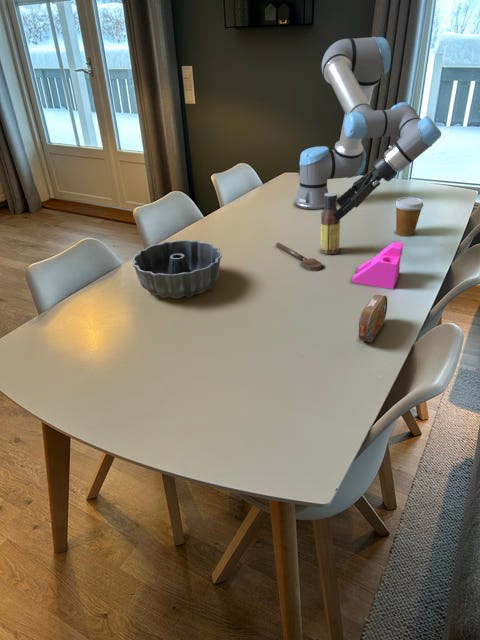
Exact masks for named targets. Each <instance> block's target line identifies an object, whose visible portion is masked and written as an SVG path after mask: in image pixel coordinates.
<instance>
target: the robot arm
mask: <svg viewBox="0 0 480 640" xmlns="http://www.w3.org/2000/svg"><path fill="white" fill-rule="evenodd" d="M391 55H392V54H391V47H390V44H389V41H388V40H387V39H386V38H385V37H379V36H378V37H377V36H376V37H375V36H370V37H357V38H355V37H354V38H342V39H339V40H337V41H335V42H334V43H332V44H331V45H330V46H329V47H328V48H327V49H326V51H325V53H324V55H323V57H322V61H321V73H322V76H323V78H324V80H325V82H327V83H328V84H330V86H331V87H332V90H333V91H334V94H335V95H336V98H337V99H338V101H339V105H340V106H341V108H342V110H343V112H344V114H343V115H344V116H343V121H342V125H341V130H340V137H339V140H337V141H336V143H335V144H334V148H333V149H329V146H324V145H322V146H313V147H309V148H306V149H304V150H303V151H302V152H301V153H300V155H299V156H300V157H299V167H298V168H297V170H296V171H297V173H298V174H299V187H298V190H297V193H296V196H295V199H294V206H295V207H297V208H299V209H303V210H324V208H325V207H324V206H325V199H324V194H326V193H329V190H328V180H334V179H346V178H347V179H351V178H356V177H359V176H361V174H362V173H363V172H364V170H365V167H366V163H367V161H366V159H367V153H366V150H365V149H364V146H363V144H362V141H363V140H364V139H372V138H385V137H398V138H399V139H398V140H397V141H395V142H394V144H393V145H388V147H387V148H388V149H387V150H386V151H384V152H383V154H382V155H380V156H379V157H378V158H376V160H374V161H373V162H372V165H373V168H371V170H369V171H368V172H367V173H365V174H364V175H362V176H361V177H360V178H358V179H357V180H356V181H354V182H353V183H352V185H351V187H350V188H348V189H347V190H346V191H345V192H343V194H342V195H340V196H339V197H337V199H336V204H337V205H338V206H339V208H337V211H336V212H334V213H333V216H334V217H335V218H336V219H337V220H338V221H339V220H340V221H341V219H342V218H344V217H345V216H347V214H348V213H349V212H351V211H352V210H353V209H354V208H358V207H359V206H360V205H361V204H362V203H363V202H364V201H365V200H366V199H367V198H368V197H369V196H370V195H371V193H372V192H374V191H375V189H377V188H378V187H379V186H380V185H381V182H380V181H381V180H382V179H383V180H384V181H386V182H390V181H392V180H393V179H394V178H395V177H397V175H398V173H401V172H403V170H405V169H406V168H407V167H409V165H410V164H411V163H412V162H414V161H415V160H416V159H417V158H418V157H420V156H421V155H422V154H423V153H424V152H426V151H427V150H428V149H429V148H431V147H433V145H434V144H435V143H436V142H437V141H438V140H439V139H440V138H441V136H442V131H441V129H440V128H439V127H438V126H437V125H436V123H435V122H434V121H433V120H432V119H431V118H430V116H428V115H425V116H424V117H422V118H421V117H420V115H419V114H418V113H417V110H416V109H415V108H413V107H412V106H411V105H410V103H408V102H404V101H402V102H398V103H396V104H394V105H393V106H391V108H390V109H380V110H377V109H376V110H374V109H373V108H372V106H371V101H372V96H373V93H374V92H373V91H374V88H375V86H377V85H379V83H380V80H381V77H382V76H385V75H387V74H388V72H389V70H390V68H391V61H392V59H391V58H392V56H391Z"/></svg>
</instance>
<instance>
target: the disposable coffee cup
mask: <svg viewBox="0 0 480 640" xmlns="http://www.w3.org/2000/svg"><path fill="white" fill-rule="evenodd" d="M395 207H396V209H395V214H396V215H395V219H396V220H395V234H397V235H398V236H402V237H410V236H414V235H415V232H416V228H417V225H418V222H419V218H420V215H421V211H422V209H423V207H424V201H423V199H420V198H418V197H411V196H405V197H403V196H402V197H399V198H398V199H397V200H396V202H395Z"/></svg>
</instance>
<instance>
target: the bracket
mask: <svg viewBox="0 0 480 640" xmlns="http://www.w3.org/2000/svg"><path fill="white" fill-rule="evenodd" d="M403 247H404V242H402V241H393V242H392V243H390V244H388V246H386V247H385V248H383V249H382V250H381V251H380V253H377V255H375V256H374V257H373V258H371V259H370V260H368V261H365V262H363V263H362V264H361V265H359V267H358V268H357V270H356V271H357V272H356V274H354V276H353V277H352V279H351V283H353V284H357V285H358V284H359V285H366V286H371V287H378V288H384V289H393V290H394V288H395V285H396V283H397V281H398V278H399V275H400V270H401V266H400V265H401V259H402V255H403V249H404V248H403Z"/></svg>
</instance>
